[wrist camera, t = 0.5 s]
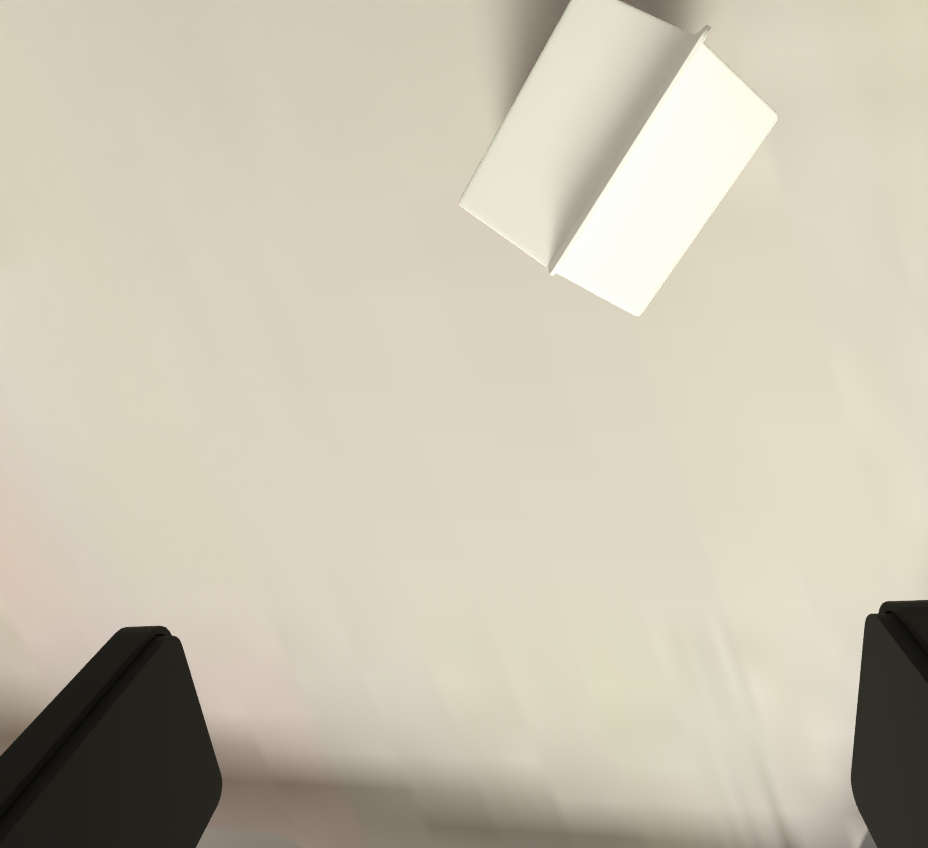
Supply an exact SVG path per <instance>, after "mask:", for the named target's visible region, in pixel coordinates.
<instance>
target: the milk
mask: <svg viewBox="0 0 928 848" xmlns="http://www.w3.org/2000/svg"><path fill="white" fill-rule="evenodd" d="M709 31H710V26H708V25H706V26H705V27H704V28H703V29H702V30H701V31H700V32H698V33H697V34H696V35H693V34H691V33H689V32H687V31H685V30H682V29H680V28H678V27H676V26H674V25H672V24H670V23H667V22H665V21H663V20H661V19H659V18H657V17H654V16H652V15H650V14H648V13H646V12H644V11H642V10H639V9H637V8H635V7H633V6H631V5H629V4H627V3H624V2H622V1H620V0H570V2H569V4H568V6H567V7H566V9H565V11H564V13H563V15H562V16H561V18H560V20H559V22H558V24H557V25H556V27H555V29H554V31H553V33H552V34H551V36H550V38H549V40H548V42H547V43H546V45H545V47H544V49H543V51H542V52H541V54H540V56H539V58H538V60H537V61H536V63H535V65H534V67H533V69H532V70H531V72H530V74H529V76H528V77H527V79H526V81H525V83H524V85H523V86H522V88H521V90H520V92H519V94H518V95H517V97H516V99H515V101H514V103H513V104H512V106H511V108H510V110H509V112H508V113H507V115H506V117H505V119H504V121H503V122H502V124H501V126H500V128H499V130H498V131H497V133H496V135H495V137H494V139H493V140H492V142H491V144H490V146H489V148H488V149H487V151H486V153H485V155H484V157H483V158H482V160H481V162H480V164H479V166H478V167H477V169H476V171H475V173H474V175H473V176H472V178H471V180H470V182H469V184H468V185H467V187H466V189H465V191H464V193H463V194H462V196H461V198H460V200H459V205H460V206H461V207H462V208H464V209H465V210H467V211H468V212H469V213H471V214H472V215H474V216H475V217H476V218H478V219H479V220H481V221H482V222H483V223H485V224H486V225H488V226H489V227H491V228H492V229H493V230H495V231H496V232H498V233H499V234H500V235H502V236H503V237H505V238H506V239H508V240H509V241H510V242H512V243H513V244H515V245H516V246H517V247H519V248H520V249H522V250H523V251H525V252H526V253H527V254H529V255H530V256H532V257H533V258H534V259H536V260H537V261H539V262H540V263H541V264H543V265H544V266H546V267H547V268H548V269H549V274H550V275H551V276H553V275H554V274H555V273H557V274H559V275H561V276H563V277H565V278H567V279H568V280H570V281H572V282H574V283H576V284H578V285H579V286H581V287H583V288H585V289H587V290H589V291H590V292H592V293H594V294H596V295H598V296H600V297H601V298H603V299H605V300H607V301H609V302H611V303H612V304H614V305H616V306H618V307H620V308H622V309H624V310H625V311H627V312H629V313H631V314H633V315H635V316H640V315H641V314H642V313H643V311H644V310H645V308H646V307H647V306H648V304H649V303H650V301H651V300H652V299H653V297H654V296H655V294H656V293H657V291H658V290H659V289H660V287H661V286H662V284H663V283H664V281H665V280H666V279H667V277H668V276H669V274H670V273H671V271H672V270H673V269H674V267H675V266H676V264H677V263H678V261H679V260H680V259H681V257H682V256H683V254H684V253H685V252H686V250H687V249H688V247H689V246H690V244H691V243H692V242H693V240H694V239H695V237H696V236H697V234H698V233H699V232H700V230H701V229H702V227H703V226H704V224H705V223H706V222H707V220H708V219H709V217H710V216H711V215H712V213H713V212H714V210H715V209H716V207H717V206H718V205H719V203H720V202H721V200H722V199H723V197H724V196H725V195H726V193H727V192H728V190H729V189H730V187H731V186H732V185H733V183H734V182H735V180H736V179H737V177H738V176H739V175H740V173H741V172H742V170H743V169H744V168H745V166H746V165H747V163H748V162H749V160H750V159H751V158H752V156H753V155H754V153H755V152H756V150H757V149H758V148H759V146H760V145H761V143H762V142H763V140H764V139H765V138H766V136H767V135H768V133H769V132H770V130H771V129H772V128H773V126H774V125H775V123H776V122H777V120H778V114H777V113H776V112H775V111H774V110H773V109H772V108H771V107H770V106H769V105H768V104H767V103H766V102H765V101H764V100H763V99H762V98H761V97H760V96H759V95H758V94H757V93H756V92H755V91H754V90H753V89H751V88H750V87H749V86H748V85H747V84H746V83H745V82H744V81H743V80H742V79H741V78H740V77H739V76H738V75H737V74H736V73H735V72H734V71H733V70H732V69H731V68H730V67H729V66H728V65H727V64H725V63H724V62H723V61H722V60H721V59H720V58H719V57H718V56H717V55H716V54H715V53H714V52H713V51H712V50H711V49H710V48H709V47H708V46H707V45H706V44H705V43H704V40H705V39H706V37H707V35H708V33H709Z"/></svg>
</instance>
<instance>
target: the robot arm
mask: <svg viewBox="0 0 928 848" xmlns="http://www.w3.org/2000/svg"><path fill="white" fill-rule="evenodd" d="M851 785H852V791H853V795H854V799H855V802H856V805H857V807H858V809H859V812H860V814H861V816H862V818H863V820H864V822H865V824H866V826H867V828H868V830H869V832H870V833H871V836H872V838H873V839H874V842H875V843H876V846H877V848H928V600H916V601H887V602H885V603H882V605H881V607H880V609H879V613H878V614H870V615H868V616H867V618H866V621H865V628H864V639H863V649H862V660H861V671H860V682H859V693H858V704H857V714H856V725H855V736H854V747H853V758H852V769H851ZM221 791H222V777H221V773H220V770H219V766H218V763H217V760H216V756H215V753H214V750H213V746H212V743H211V740H210V736H209V733H208V730H207V726H206V723H205V720H204V716H203V713H202V710H201V706H200V703H199V700H198V696H197V693H196V690H195V687H194V683H193V680H192V677H191V673H190V670H189V667H188V663H187V660H186V657H185V653H184V650H183V647H182V644H181V642H180V640H179V639H178V638H177V637H176V636H172V635H171V633H170V631H169V630H168V629H167V628H166V627H163V626H141V627H125V628H121V629H120V630H119V631H118V632H116V633H115V634H114V635H113V636H112V637H111V639H110V640H109V641H108V642H107V643H106V644H105V645H104V646H103V647H102V648H101V649H100V650H99V651H98V652H97V653H96V655H95V656H94V657H93V658H92V659H91V660H90V661H89V662H88V663H87V664H86V665H85V666H84V667H83V668H82V670H81V671H80V672H79V673H78V674H77V675H76V676H75V677H74V678H73V679H72V680H71V681H70V682H69V683H68V685H67V686H66V687H65V688H64V689H63V690H62V691H61V692H60V693H59V694H58V695H57V696H56V697H55V698H54V699H53V701H52V702H51V703H50V704H49V705H48V706H47V707H46V708H45V709H44V710H43V711H42V712H41V713H40V714H39V716H38V717H37V718H36V719H35V720H34V721H33V722H32V723H31V724H30V725H29V726H28V727H27V728H26V729H25V731H24V732H23V733H22V734H21V735H20V736H19V737H18V738H17V739H16V740H15V741H14V742H13V743H12V744H11V745H10V747H9V748H8V749H7V750H6V751H5V752H4V753H3V754H2V755H1V756H0V848H196V846H197V844H198V842H199V840H200V838H201V836H202V834H203V832H204V830H205V829H206V827H207V825H208V823H209V821H210V819H211V817H212V815H213V813H214V811H215V809H216V807H217V805H218V803H219V800H220V796H221Z"/></svg>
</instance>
